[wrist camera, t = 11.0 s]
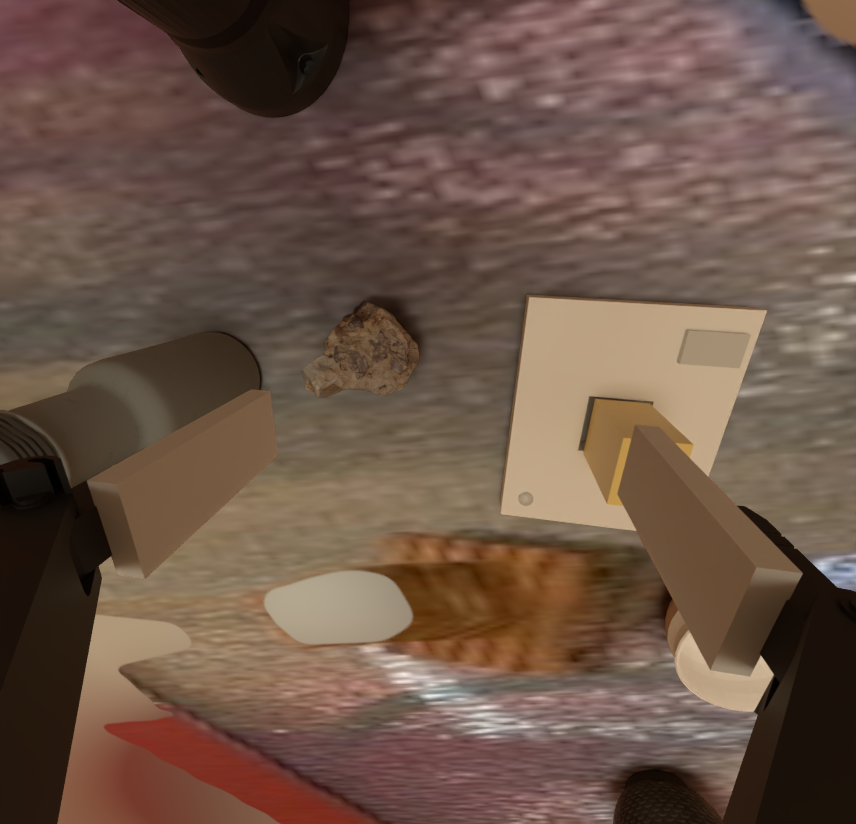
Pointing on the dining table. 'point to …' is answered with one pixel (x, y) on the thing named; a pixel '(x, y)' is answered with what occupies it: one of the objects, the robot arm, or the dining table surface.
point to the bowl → (707, 683)
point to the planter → (662, 802)
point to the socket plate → (615, 391)
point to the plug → (620, 440)
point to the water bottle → (129, 403)
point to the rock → (364, 355)
